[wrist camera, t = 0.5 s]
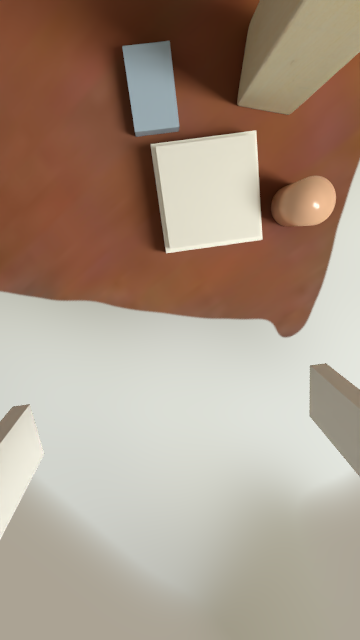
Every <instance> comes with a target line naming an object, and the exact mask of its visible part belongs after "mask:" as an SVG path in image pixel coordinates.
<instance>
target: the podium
mask: <svg viewBox="0 0 360 640" xmlns="http://www.w3.org/2000/svg"><path fill="white" fill-rule="evenodd" d="M151 153H152V159H153V166H154V173H155V180H156V187H157V194H158V201H159V208H160V215H161V222H162V229H163V236H164V243H165V250H166V253H171V252H178V251H185V250H192V249H199V248H207V247H214V246H221V245H228V244H235V243H242V242H249V241H256V240H262V224H261V207H260V189H259V172H258V154H257V137H256V131H248V132H240V133H233V134H225V135H217V136H210V137H202V138H194V139H187V140H179V141H172V142H164V143H156V144H151Z"/></svg>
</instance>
